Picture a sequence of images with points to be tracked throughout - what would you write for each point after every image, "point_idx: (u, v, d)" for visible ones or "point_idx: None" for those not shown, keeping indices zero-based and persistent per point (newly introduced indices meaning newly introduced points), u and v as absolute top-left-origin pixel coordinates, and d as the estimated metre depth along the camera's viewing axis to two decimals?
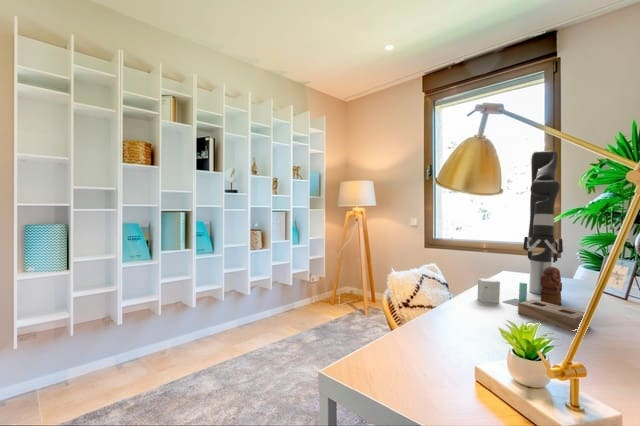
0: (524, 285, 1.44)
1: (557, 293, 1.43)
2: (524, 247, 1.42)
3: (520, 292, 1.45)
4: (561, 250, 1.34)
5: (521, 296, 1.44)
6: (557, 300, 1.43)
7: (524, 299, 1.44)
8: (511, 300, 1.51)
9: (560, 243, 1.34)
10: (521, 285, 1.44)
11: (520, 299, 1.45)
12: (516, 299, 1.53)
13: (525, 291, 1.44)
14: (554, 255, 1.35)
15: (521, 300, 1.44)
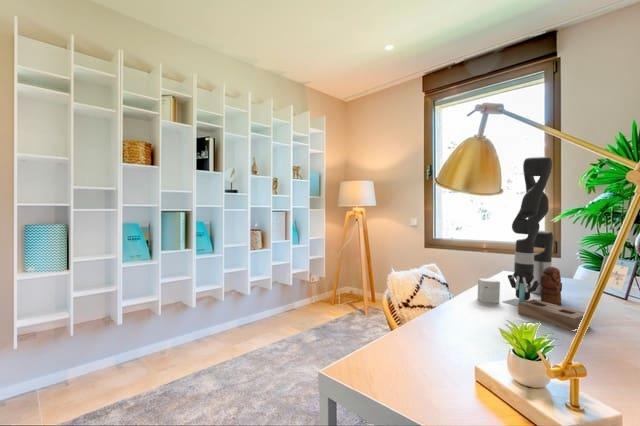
0: None
1: (557, 293, 1.43)
2: (512, 285, 1.48)
3: (520, 292, 1.45)
4: (531, 289, 1.41)
5: (521, 296, 1.44)
6: (557, 300, 1.43)
7: (524, 299, 1.44)
8: (511, 300, 1.51)
9: (534, 284, 1.40)
10: (521, 285, 1.45)
11: (520, 299, 1.45)
12: (516, 299, 1.53)
13: (524, 291, 1.44)
14: (525, 293, 1.43)
15: (521, 300, 1.45)
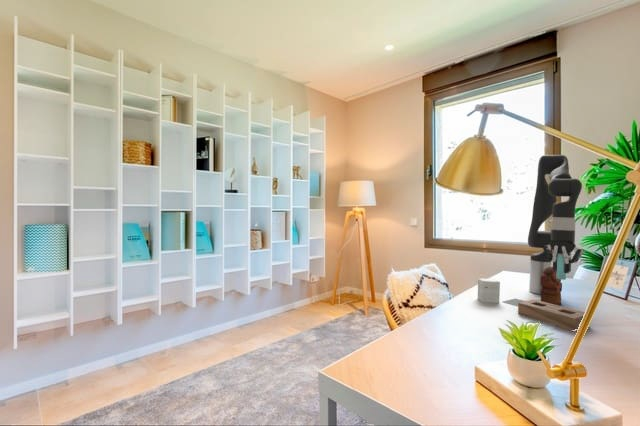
0: (563, 256, 1.23)
1: (557, 293, 1.43)
2: (548, 257, 1.28)
3: (558, 264, 1.24)
4: (572, 260, 1.20)
5: (560, 268, 1.24)
6: (557, 300, 1.43)
7: (563, 272, 1.23)
8: (511, 300, 1.51)
9: (576, 253, 1.19)
10: (559, 256, 1.24)
11: (558, 272, 1.24)
12: (516, 299, 1.53)
13: (564, 263, 1.23)
14: (565, 265, 1.22)
15: (560, 273, 1.24)
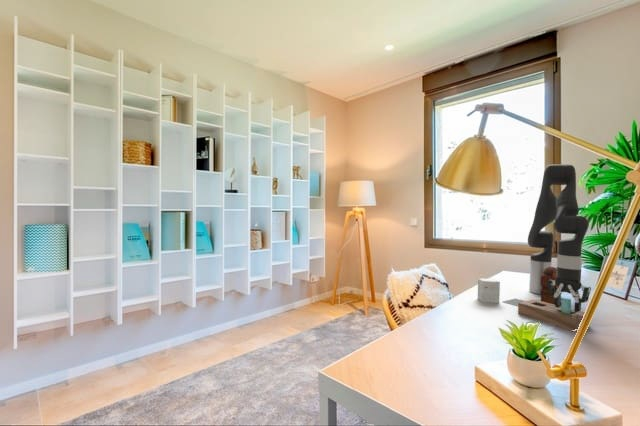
0: (568, 301, 1.21)
1: None
2: (550, 292, 1.27)
3: (563, 309, 1.22)
4: (583, 300, 1.17)
5: None
6: None
7: None
8: (511, 300, 1.51)
9: (584, 292, 1.17)
10: (564, 301, 1.22)
11: None
12: (516, 299, 1.53)
13: (568, 309, 1.21)
14: (575, 304, 1.19)
15: None
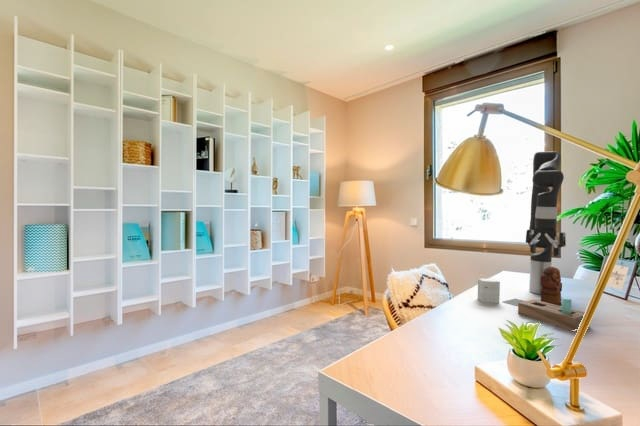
0: (568, 301, 1.21)
1: (557, 293, 1.43)
2: (526, 240, 1.39)
3: (563, 310, 1.22)
4: (561, 244, 1.28)
5: None
6: (557, 300, 1.43)
7: None
8: (511, 300, 1.51)
9: (560, 237, 1.28)
10: (564, 301, 1.22)
11: None
12: (516, 299, 1.53)
13: (569, 309, 1.21)
14: (555, 249, 1.30)
15: None
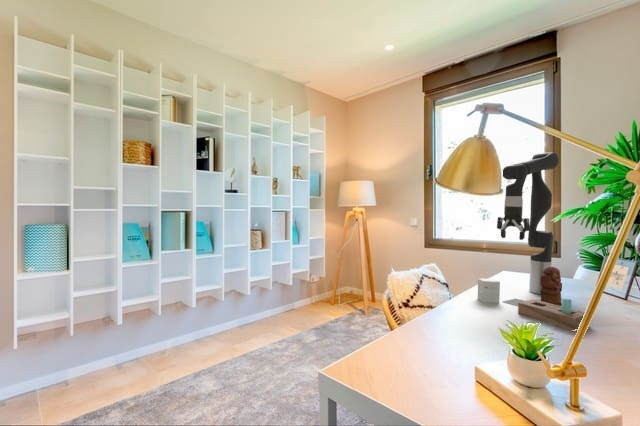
0: (568, 301, 1.21)
1: (557, 293, 1.43)
2: (497, 226, 1.58)
3: (563, 310, 1.22)
4: (525, 228, 1.47)
5: None
6: (557, 300, 1.43)
7: None
8: (511, 300, 1.51)
9: (525, 222, 1.47)
10: (564, 301, 1.22)
11: None
12: (516, 299, 1.53)
13: (569, 309, 1.21)
14: (520, 233, 1.49)
15: None
